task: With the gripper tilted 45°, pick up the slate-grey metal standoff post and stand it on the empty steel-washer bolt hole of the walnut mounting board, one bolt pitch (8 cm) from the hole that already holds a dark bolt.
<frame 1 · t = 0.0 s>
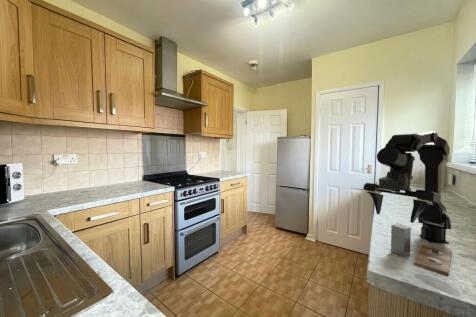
hand: (393, 218, 63), 15 cm above the countertop, tool pointing down, fingers open, 9 cm apart
mounting board: (433, 258, 66), on the countertop
standoff: (400, 253, 70), on the countertop
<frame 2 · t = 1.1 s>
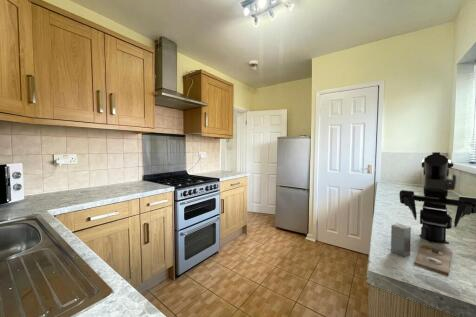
hand: (434, 222, 64), 13 cm above the countertop, tool tilted 45°, fingers open, 9 cm apart
nothing on the countertop moved.
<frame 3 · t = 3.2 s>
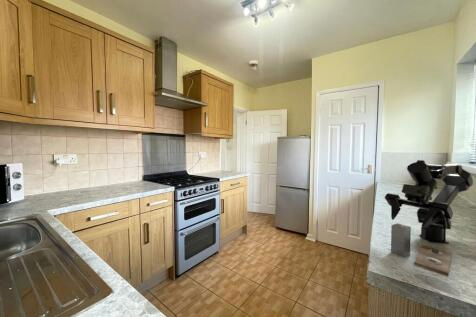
hand: (406, 222, 71), 11 cm above the countertop, tool tilted 45°, fingers open, 9 cm apart
nothing on the countertop moved.
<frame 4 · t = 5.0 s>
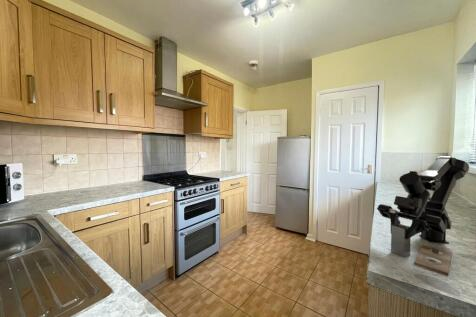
hand: (398, 236, 69), 7 cm above the countertop, tool tilted 45°, fingers closed on standoff, 4 cm apart
standoff: (400, 253, 70), on the countertop, touching gripper
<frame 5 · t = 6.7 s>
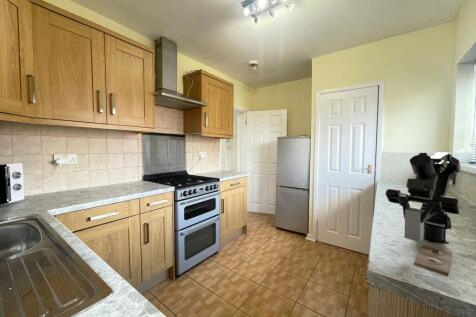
hand: (413, 220, 66), 13 cm above the countertop, tool tilted 45°, fingers closed on standoff, 4 cm apart
standoff: (413, 238, 67), point 7 cm above the countertop, touching gripper
when the fingers open (9 cm above the countertop, at t = 8.5 s): standoff drops 1 cm, resting on mounting board.
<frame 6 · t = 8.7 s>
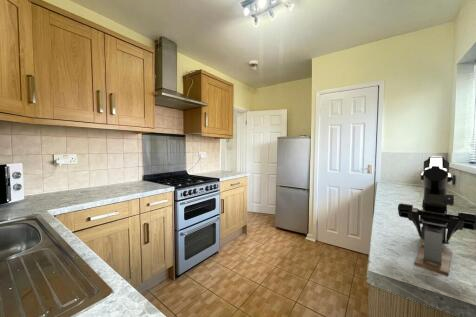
hand: (433, 238, 63), 9 cm above the countertop, tool tilted 45°, fingers open, 6 cm apart
standoff: (432, 260, 64), point 1 cm above the countertop, touching mounting board
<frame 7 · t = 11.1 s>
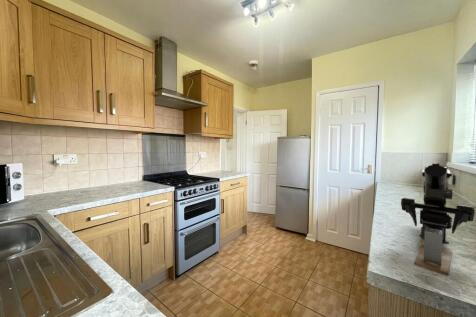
hand: (433, 229, 69), 9 cm above the countertop, tool tilted 45°, fingers open, 9 cm apart
nothing on the countertop moved.
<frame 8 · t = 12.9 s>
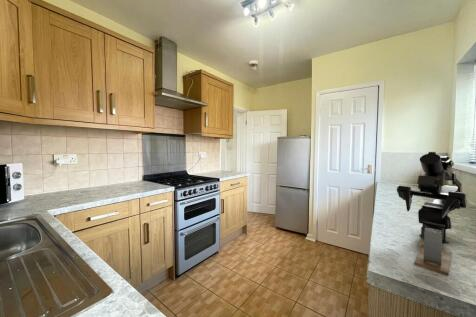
hand: (423, 213, 72), 14 cm above the countertop, tool tilted 45°, fingers open, 9 cm apart
nothing on the countertop moved.
at the end: standoff 0.0 cm from the target spot on the mounting board, point 1.0 cm above the mounting board's base; standoff tilted 1°; the gripper is holding nothing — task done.
